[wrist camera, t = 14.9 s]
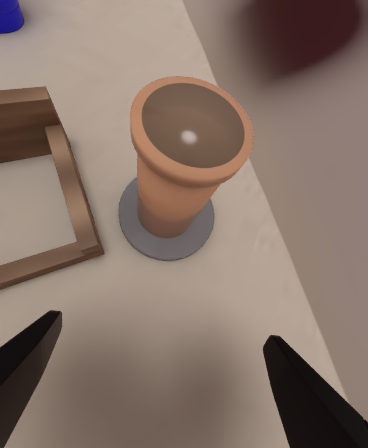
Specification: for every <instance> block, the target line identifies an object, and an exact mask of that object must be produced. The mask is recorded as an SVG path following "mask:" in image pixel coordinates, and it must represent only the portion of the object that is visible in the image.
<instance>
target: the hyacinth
mask: <svg viewBox="0 0 368 448" xmlns="http://www.w3.org/2000/svg"><path fill="white" fill-rule="evenodd" d="M23 22H24V19H23V15H22V12H21V9H20V6H19V2H18V0H0V33H9V32H13V31H16V30H18V29H19V28H20V27H22V25H23Z"/></svg>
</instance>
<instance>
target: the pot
mask: <svg viewBox="0 0 368 448" xmlns="http://www.w3.org/2000/svg"><path fill="white" fill-rule="evenodd" d="M130 127H131V138H132V143H133V145H134V148H135V150H136V152H137V215H138V219H139V221H140V223H141V225H142V226H143V228H144V229H145V230H146V231H148V232H149V233H150V234H152V235H154V236H157V237H160V238H173V237H177V236H179V235H181V234H182V233H184V232H185V231H186V230H187V229H188V228H189V226H190V225H191V224H192V222H193V221H194V219H195V218H196V217H197V215H198V214H199V213H200V211H201V210H202V209H203V207H204V206H205V204H206V203H207V202H208V200H209V199H210V198H211V196H212V195H213V194H214V192H215V191H216V189H217V188H218V187H219V185H220V184H221V183H224V182H225V181H227V180H229V179H230V178H232V177H233V176H234V175H235V174H236V173H237V172H238V170H239V169H240V168H241V167H242V165H243V164H244V163H245V162H246V160H247V159H248V157H249V156H250V153H251V151H252V147H253V140H254V139H253V137H254V136H253V129H252V126H251V123H250V120H249V118H248V116H247V114H246V113H245V111H244V110H243V108H242V107H241V106H240V105H239V104H238V102H237V101H236V100H235V99H234V98H233V97H232V96H230V95H229V94H228V93H226V92H225V91H223V90H222V89H220V88H219V87H217V86H215V85H213V84H211V83H208V82H206V81H203V80H200V79H196V78H191V77H180V76H175V77H166V78H162V79H158V80H156V81H153V82H151V83H149V84H148V85H146V86H145V87H144V88H143V89H141V90H140V91H139V93H138V94H137V95H136V97H135V99H134V100H133V103H132V106H131V111H130Z"/></svg>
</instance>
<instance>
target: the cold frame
mask: <svg viewBox="0 0 368 448" xmlns="http://www.w3.org/2000/svg"><path fill="white" fill-rule="evenodd" d="M47 154H52V155H53V158H54V162H55V165H56V169H57V172H58V176H59V179H60V183H61V186H62V190H63V193H64V197H65V200H66V204H67V207H68V211H69V214H70V218H71V221H72V225H73V228H74V231H75V235H76V238H77V242H75V243H72V244H68V245H65V246H62V247H59V248H56V249H52V250H49V251H46V252H43V253H39V254H36V255H33V256H30V257H27V258H23V259H20V260H17V261H14V262H10V263H7V264H4V265H1V266H0V289H2V288H5V287H8V286H11V285H14V284H17V283H20V282H23V281H26V280H29V279H32V278H35V277H38V276H41V275H44V274H46V273H49V272H52V271H55V270H58V269H61V268H64V267H67V266H70V265H73V264H76V263H79V262H82V261H85V260H88V259H91V258H93V257H96V256H99V255H102V254H104V251H103V248H102V245H101V241H100V238H99V235H98V232H97V229H96V226H95V222H94V219H93V216H92V213H91V210H90V207H89V203H88V200H87V197H86V194H85V191H84V188H83V184H82V181H81V178H80V175H79V172H78V169H77V165H76V162H75V159H74V156H73V153H72V150H71V146H70V143H69V140H68V138H67V135H66V133H65V131H64V128H63V126H62V124H61V121H60V119H59V117H58V114H57V112H56V110H55V107H54V105H53V103H52V100H51V98H50V96H49V93H48V91H47V89H46V87H34V88H22V89H11V90H0V163H2V162H7V161H13V160H19V159H24V158H30V157H35V156H41V155H47Z"/></svg>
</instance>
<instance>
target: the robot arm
mask: <svg viewBox="0 0 368 448" xmlns="http://www.w3.org/2000/svg"><path fill="white" fill-rule="evenodd" d="M61 329H62V312H61V311H54V310H51V311H49V312H47V313H46V314H44V315H43V316H42V317H40V318H39V319H38V320H36V321H35V322H34V323H32V324H31V325H30V326H28V327H27V328H26V329H24V330H23V331H22V332H20V333H19V334H18V335H16V336H15V337H14V338H12V339H11V340H9V341H8V342H7V343H5V344H4V345H3V346H1V347H0V448H4V447H5V445H6V443H7V441H8V439H9V437H10V435H11V433H12V432H13V430H14V428H15V426H16V424H17V422H18V420H19V418H20V417H21V415H22V413H23V411H24V409H25V407H26V405H27V403H28V402H29V400H30V398H31V396H32V394H33V392H34V390H35V388H36V387H37V385H38V383H39V381H40V379H41V377H42V375H43V373H44V370H45V368H46V366H47V363H48V361H49V358H50V356H51V354H52V351H53V349H54V346H55V344H56V342H57V339H58V337H59V334H60V332H61ZM263 354H264V358H265V362H266V367H267V371H268V376H269V380H270V385H271V388H272V392H273V396H274V399H275V402H276V405H277V408H278V411H279V415H280V418H281V421H282V424H283V427H284V430H285V434H286V437H287V440H288V443H289V446H290V448H368V422H367V421H366V420H364V419H363V417H362V416H361V415H360V414H359V413H358V412H357V411H356V410H355V409H354V408H353V407H352V406H351V405H350V404H349V403H348V402H347V401H346V400H345V399H343V398H342V397H341V396H340V395H339V394H338V393H337V392H336V391H335V390H334V389H333V388H332V387H331V386H330V385H329V384H328V383H327V382H326V381H325V380H324V379H323V378H322V377H321V376H320V375H319V374H318V373H317V372H316V371H315V370H314V369H313V368H312V367H311V366H310V365H309V364H308V363H307V362H306V361H305V360H304V359H303V358H302V357H301V356H300V355H299V354H298V353H296V352H295V351H294V350H293V349H292V348H291V347H290V346H289V345H288V344H287V343H286V342H285V341H284V340H283V339H282V338H281V337H280V336H276V335H270V336H269V338H268V339H267V341H266V343H265V344H264V346H263Z"/></svg>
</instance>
